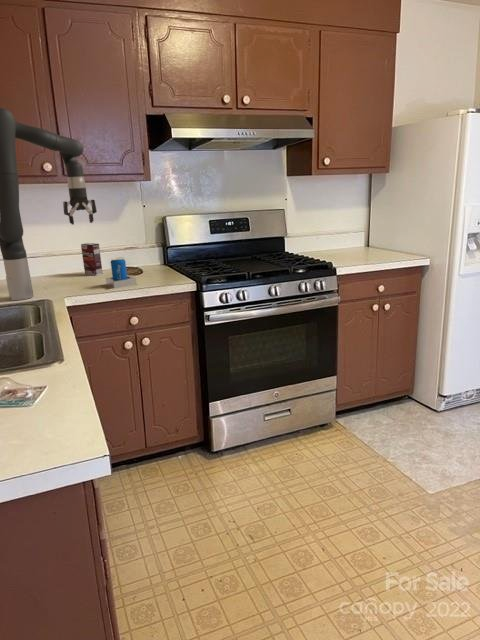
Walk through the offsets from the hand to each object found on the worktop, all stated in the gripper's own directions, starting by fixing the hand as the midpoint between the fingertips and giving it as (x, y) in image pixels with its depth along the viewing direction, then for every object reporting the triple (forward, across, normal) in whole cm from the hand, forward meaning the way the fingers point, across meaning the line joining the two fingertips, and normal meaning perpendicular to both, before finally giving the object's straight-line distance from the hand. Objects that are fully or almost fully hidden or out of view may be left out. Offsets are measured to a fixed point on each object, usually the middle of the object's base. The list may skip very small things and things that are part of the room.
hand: (82, 223), depth 221 cm
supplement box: (+28, +8, +20) cm, 36 cm away
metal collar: (+27, +9, -18) cm, 34 cm away
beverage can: (+28, +9, -18) cm, 34 cm away
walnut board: (+28, +8, -18) cm, 34 cm away
